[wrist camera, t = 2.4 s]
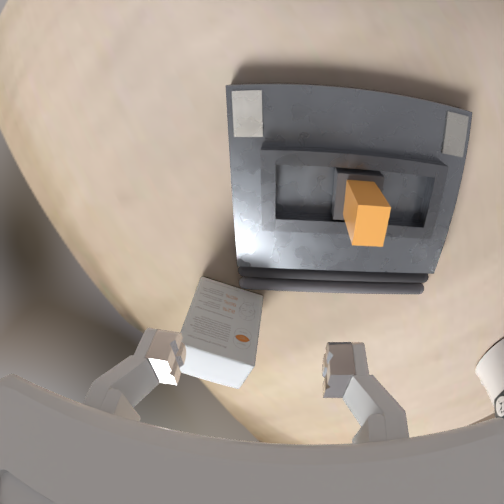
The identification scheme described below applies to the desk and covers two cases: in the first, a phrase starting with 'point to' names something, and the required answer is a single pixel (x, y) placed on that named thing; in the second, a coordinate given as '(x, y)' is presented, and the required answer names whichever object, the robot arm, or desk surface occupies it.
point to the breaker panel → (323, 170)
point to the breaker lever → (361, 205)
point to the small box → (221, 333)
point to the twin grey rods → (331, 281)
